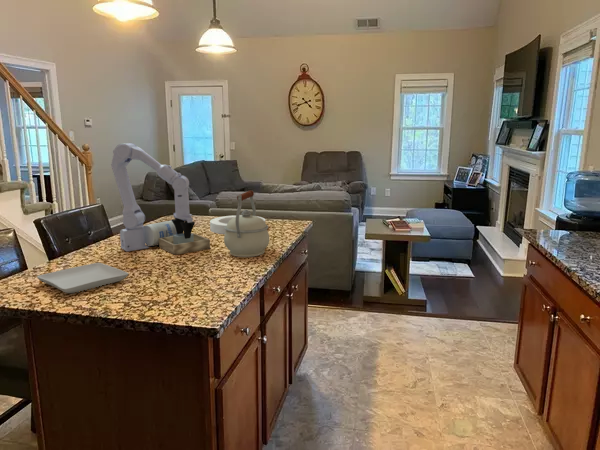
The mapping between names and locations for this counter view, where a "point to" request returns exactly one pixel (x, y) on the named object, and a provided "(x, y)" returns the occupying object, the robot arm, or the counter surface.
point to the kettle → (246, 231)
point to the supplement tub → (158, 232)
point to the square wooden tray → (184, 245)
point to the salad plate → (83, 277)
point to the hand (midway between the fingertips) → (183, 236)
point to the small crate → (182, 239)
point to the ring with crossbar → (222, 223)
